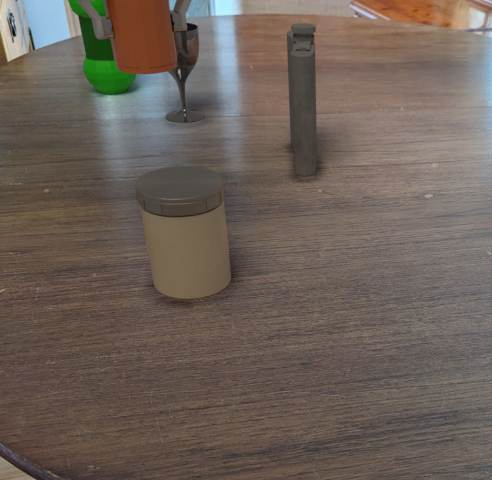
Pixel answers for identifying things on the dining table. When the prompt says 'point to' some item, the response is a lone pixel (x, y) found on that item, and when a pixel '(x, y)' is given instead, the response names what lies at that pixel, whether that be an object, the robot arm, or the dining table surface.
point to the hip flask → (302, 97)
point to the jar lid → (180, 190)
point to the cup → (142, 35)
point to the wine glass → (185, 71)
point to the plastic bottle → (100, 54)
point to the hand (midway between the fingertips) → (141, 34)
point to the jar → (188, 253)
